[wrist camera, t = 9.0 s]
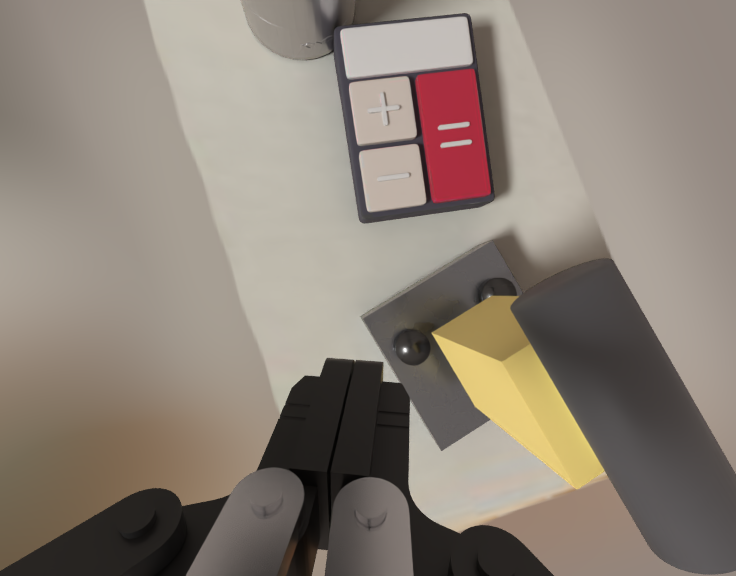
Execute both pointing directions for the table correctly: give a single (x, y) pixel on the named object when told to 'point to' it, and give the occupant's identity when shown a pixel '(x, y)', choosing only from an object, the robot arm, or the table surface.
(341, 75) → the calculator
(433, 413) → the base
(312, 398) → the robot arm
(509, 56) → the table surface
